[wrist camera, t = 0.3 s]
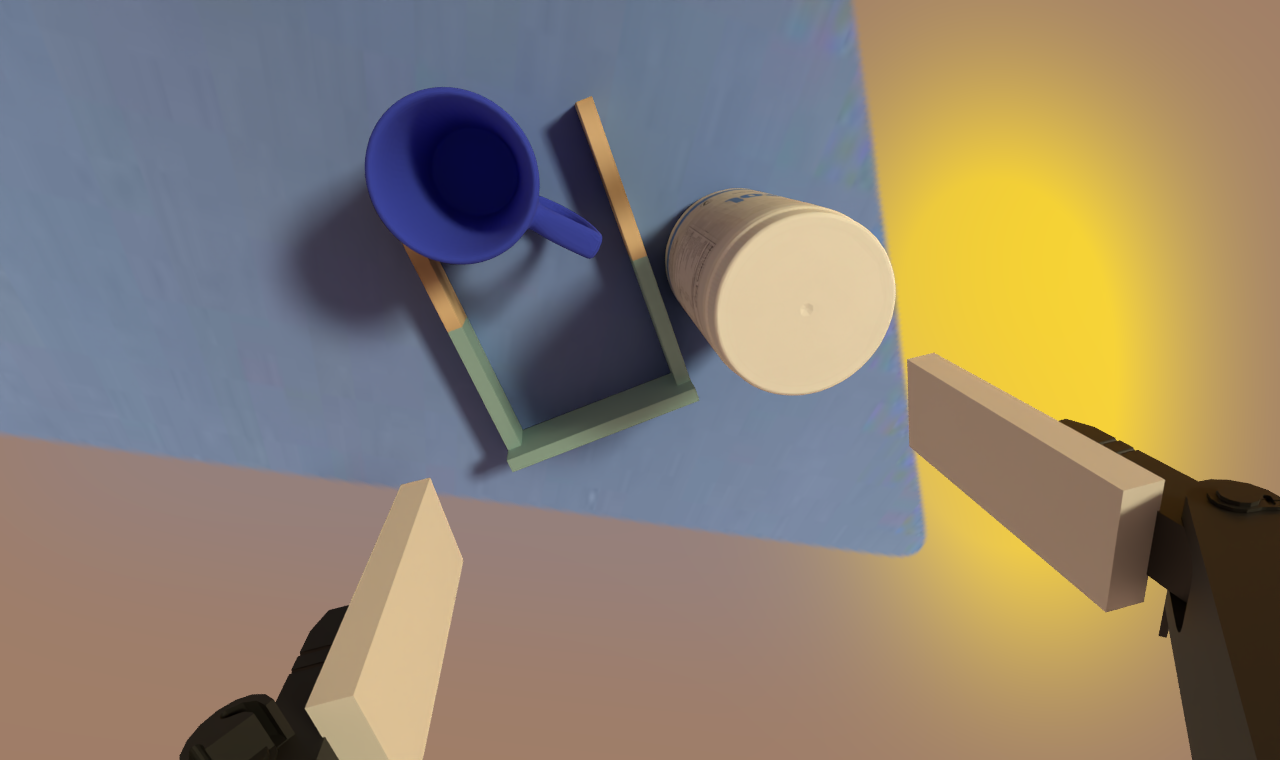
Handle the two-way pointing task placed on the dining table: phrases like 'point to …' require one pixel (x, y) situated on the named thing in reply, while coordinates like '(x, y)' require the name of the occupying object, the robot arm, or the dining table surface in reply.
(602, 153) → the flange rails
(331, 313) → the dining table surface
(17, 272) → the dining table surface
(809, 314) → the supplement tub
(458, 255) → the mug
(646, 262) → the pocket
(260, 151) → the dining table surface
